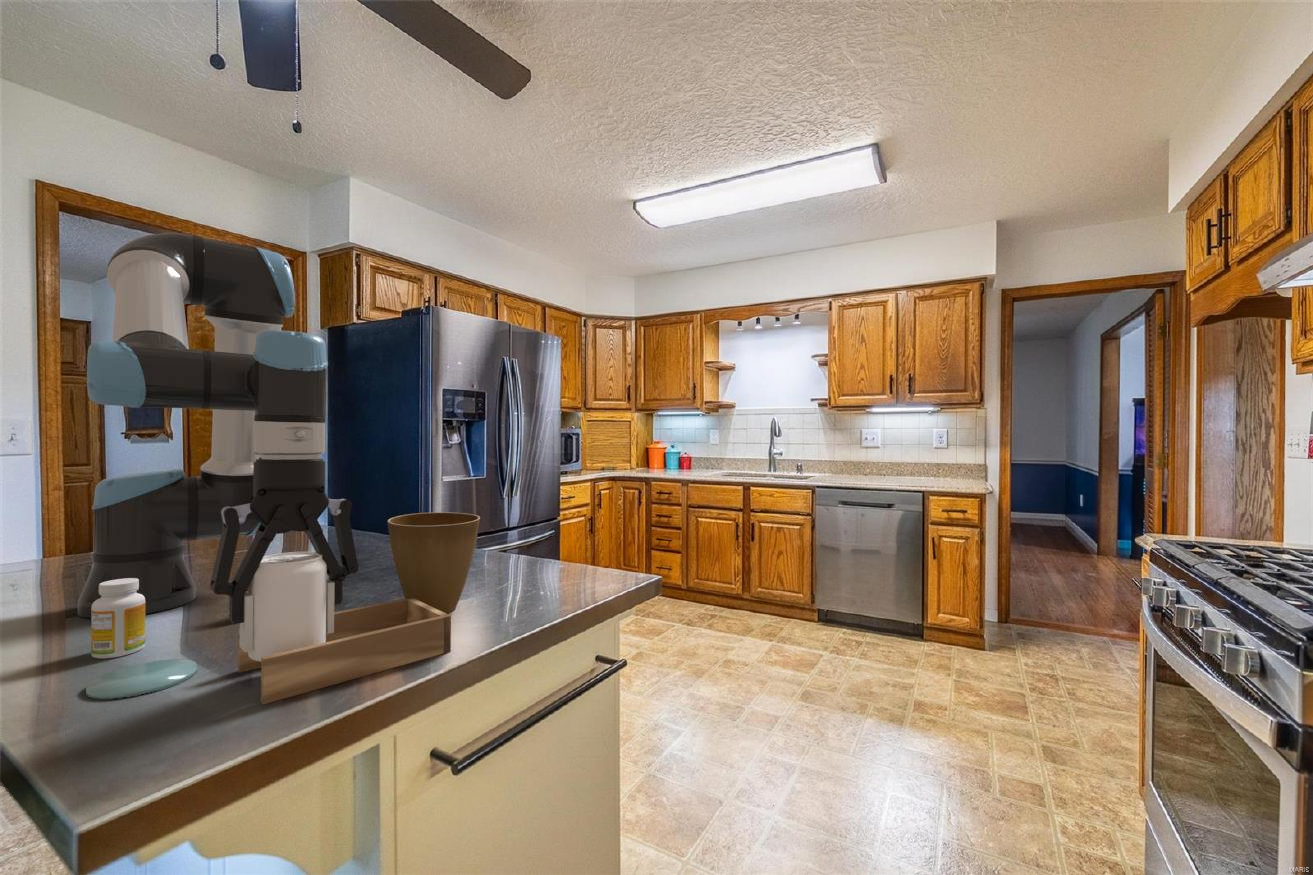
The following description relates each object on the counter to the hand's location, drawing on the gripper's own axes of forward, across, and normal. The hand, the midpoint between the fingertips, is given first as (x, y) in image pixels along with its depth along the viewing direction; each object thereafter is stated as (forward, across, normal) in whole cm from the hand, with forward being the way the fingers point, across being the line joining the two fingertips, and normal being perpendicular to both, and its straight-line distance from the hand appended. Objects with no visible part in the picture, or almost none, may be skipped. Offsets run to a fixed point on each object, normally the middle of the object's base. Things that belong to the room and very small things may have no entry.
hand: (288, 639), depth 70 cm
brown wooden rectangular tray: (+5, +8, 0) cm, 9 cm away
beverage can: (+2, 0, 0) cm, 2 cm away
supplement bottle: (+5, -14, +26) cm, 29 cm away
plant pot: (+5, +25, +13) cm, 29 cm away
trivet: (+5, -12, +11) cm, 17 cm away
